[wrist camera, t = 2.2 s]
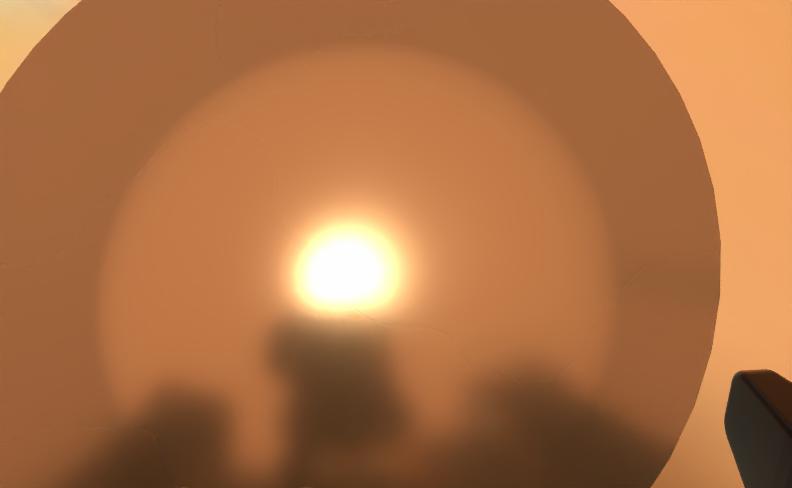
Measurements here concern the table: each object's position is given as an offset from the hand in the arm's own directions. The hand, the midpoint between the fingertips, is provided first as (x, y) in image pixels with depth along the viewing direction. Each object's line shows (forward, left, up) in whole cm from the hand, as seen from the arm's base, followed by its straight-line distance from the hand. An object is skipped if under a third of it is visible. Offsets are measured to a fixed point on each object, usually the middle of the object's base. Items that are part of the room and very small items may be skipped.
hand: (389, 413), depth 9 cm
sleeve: (+1, 0, -8) cm, 8 cm away
